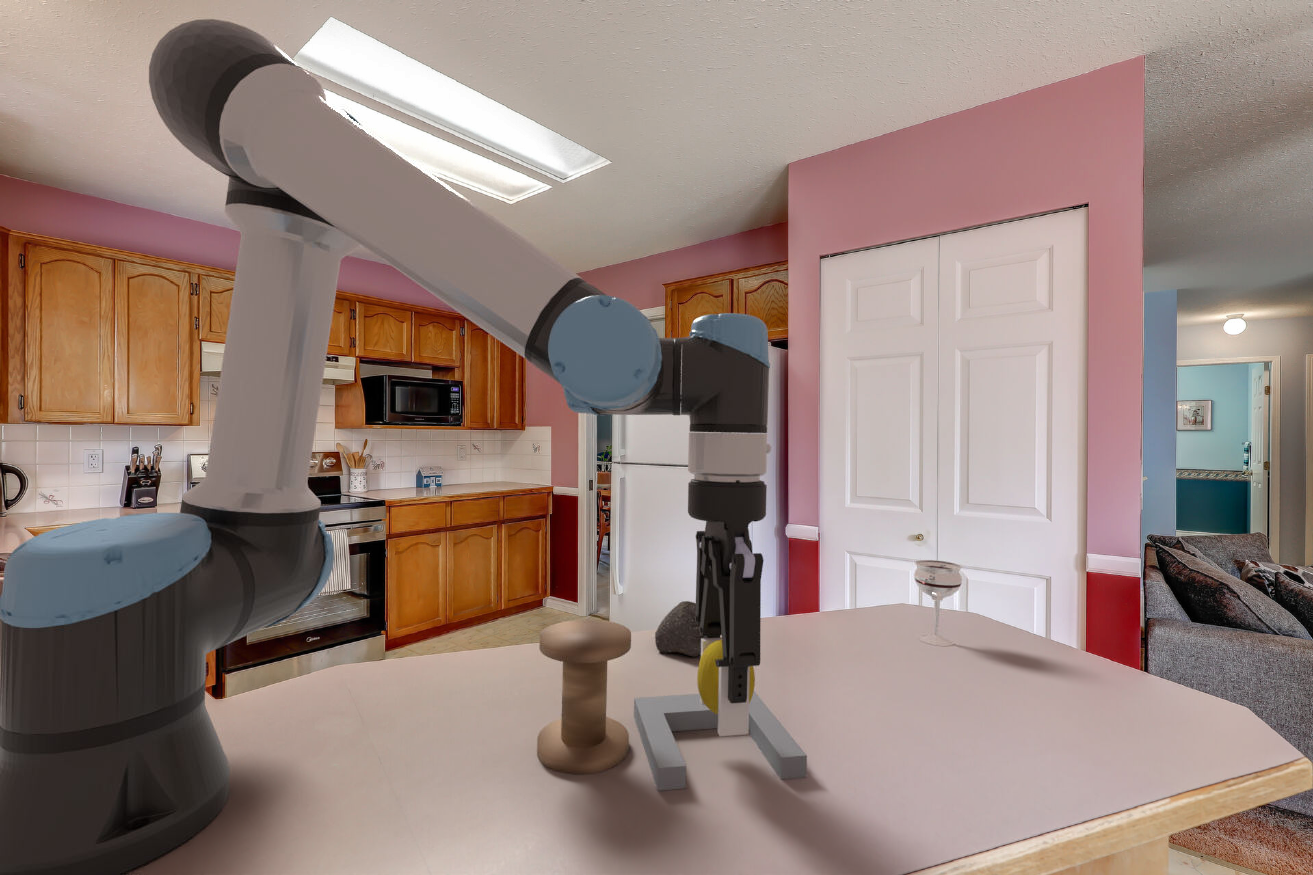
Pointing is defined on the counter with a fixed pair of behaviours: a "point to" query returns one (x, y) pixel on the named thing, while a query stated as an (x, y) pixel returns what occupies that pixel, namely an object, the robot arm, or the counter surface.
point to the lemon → (714, 676)
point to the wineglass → (937, 589)
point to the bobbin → (584, 697)
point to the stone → (679, 631)
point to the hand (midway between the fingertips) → (722, 716)
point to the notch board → (689, 714)
